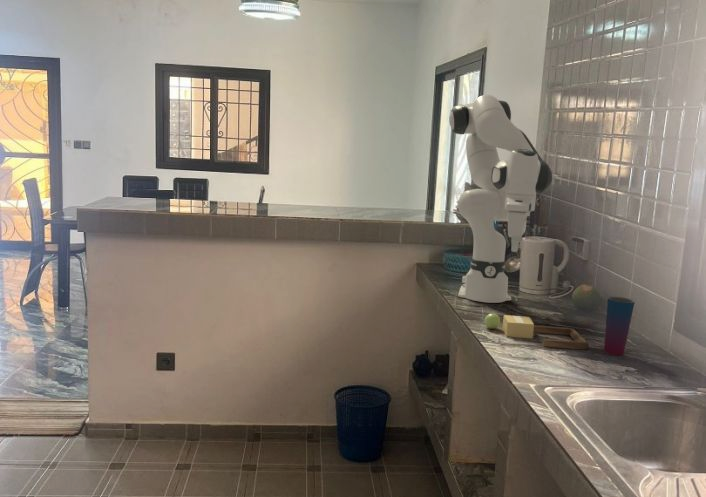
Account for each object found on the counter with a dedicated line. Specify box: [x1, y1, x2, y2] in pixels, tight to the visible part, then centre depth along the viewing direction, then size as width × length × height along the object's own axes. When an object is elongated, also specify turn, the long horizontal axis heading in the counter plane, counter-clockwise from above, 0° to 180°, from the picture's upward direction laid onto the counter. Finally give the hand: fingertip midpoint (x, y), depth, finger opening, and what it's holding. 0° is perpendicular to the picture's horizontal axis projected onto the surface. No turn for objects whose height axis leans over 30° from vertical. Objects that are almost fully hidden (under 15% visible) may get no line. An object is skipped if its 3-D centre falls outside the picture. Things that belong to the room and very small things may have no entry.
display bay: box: [533, 324, 590, 350], centre depth 185 cm, size 14×12×2 cm
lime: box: [484, 313, 501, 330], centre depth 192 cm, size 5×5×5 cm
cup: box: [603, 296, 636, 356], centre depth 176 cm, size 7×7×15 cm
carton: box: [502, 314, 535, 339], centre depth 189 cm, size 8×8×4 cm
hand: (515, 249), depth 194 cm, fingers open, 8 cm apart
